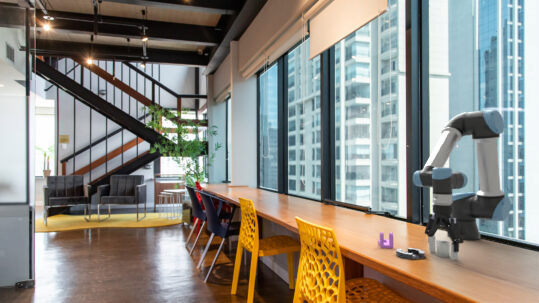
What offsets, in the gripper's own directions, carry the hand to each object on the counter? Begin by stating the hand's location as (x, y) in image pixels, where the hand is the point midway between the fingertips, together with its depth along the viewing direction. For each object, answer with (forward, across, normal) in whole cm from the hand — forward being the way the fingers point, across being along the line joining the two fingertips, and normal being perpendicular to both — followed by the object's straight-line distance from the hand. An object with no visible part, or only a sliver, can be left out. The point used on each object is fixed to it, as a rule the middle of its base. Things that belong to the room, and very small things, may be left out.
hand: (443, 255), depth 147 cm
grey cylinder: (0, 0, 0) cm, 0 cm away
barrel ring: (0, -4, -13) cm, 14 cm away
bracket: (+1, -24, -12) cm, 27 cm away
